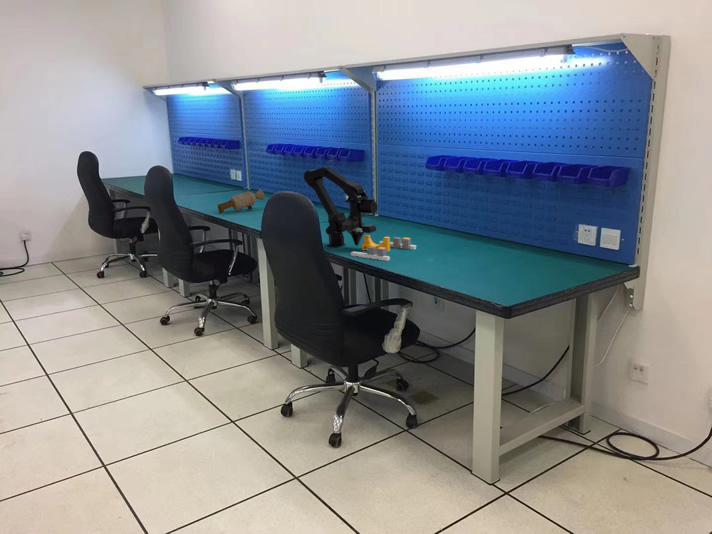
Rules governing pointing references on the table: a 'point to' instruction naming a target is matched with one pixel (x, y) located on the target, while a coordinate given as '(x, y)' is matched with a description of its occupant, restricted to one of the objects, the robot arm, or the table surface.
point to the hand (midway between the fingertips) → (356, 245)
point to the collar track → (381, 251)
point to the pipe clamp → (369, 243)
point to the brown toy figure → (242, 201)
